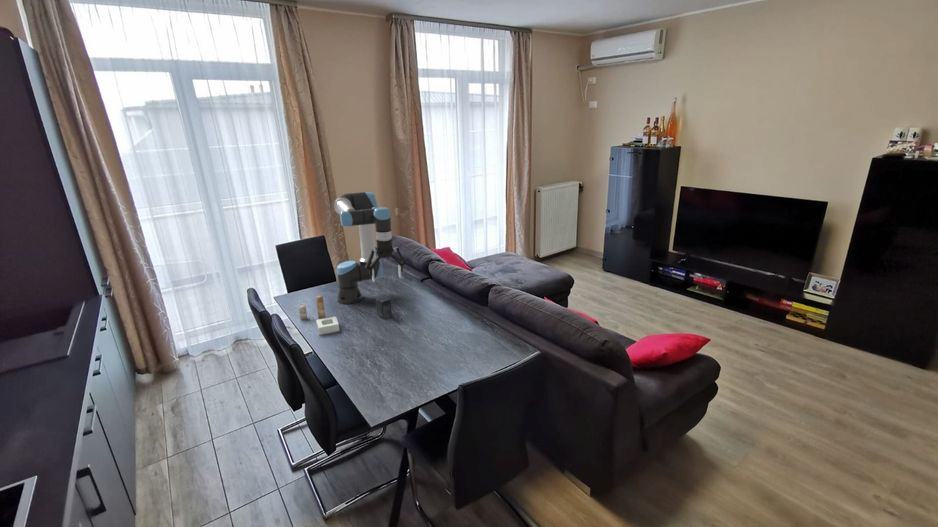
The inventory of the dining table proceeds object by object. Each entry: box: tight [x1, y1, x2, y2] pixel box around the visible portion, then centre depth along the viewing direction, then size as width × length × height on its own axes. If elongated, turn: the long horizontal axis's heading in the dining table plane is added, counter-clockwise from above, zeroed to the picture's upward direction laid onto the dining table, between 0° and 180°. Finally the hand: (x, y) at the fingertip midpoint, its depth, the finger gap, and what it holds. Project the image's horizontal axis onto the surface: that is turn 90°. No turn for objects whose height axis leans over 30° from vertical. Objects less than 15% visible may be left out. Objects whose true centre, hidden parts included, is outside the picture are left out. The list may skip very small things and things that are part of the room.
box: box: [374, 295, 393, 320], centre depth 229 cm, size 8×6×11 cm
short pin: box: [298, 305, 308, 320], centre depth 227 cm, size 4×4×7 cm
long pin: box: [315, 295, 327, 320], centre depth 223 cm, size 4×4×14 cm
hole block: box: [315, 316, 340, 336], centre depth 215 cm, size 10×10×4 cm
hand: (386, 279), depth 208 cm, fingers open, 13 cm apart
